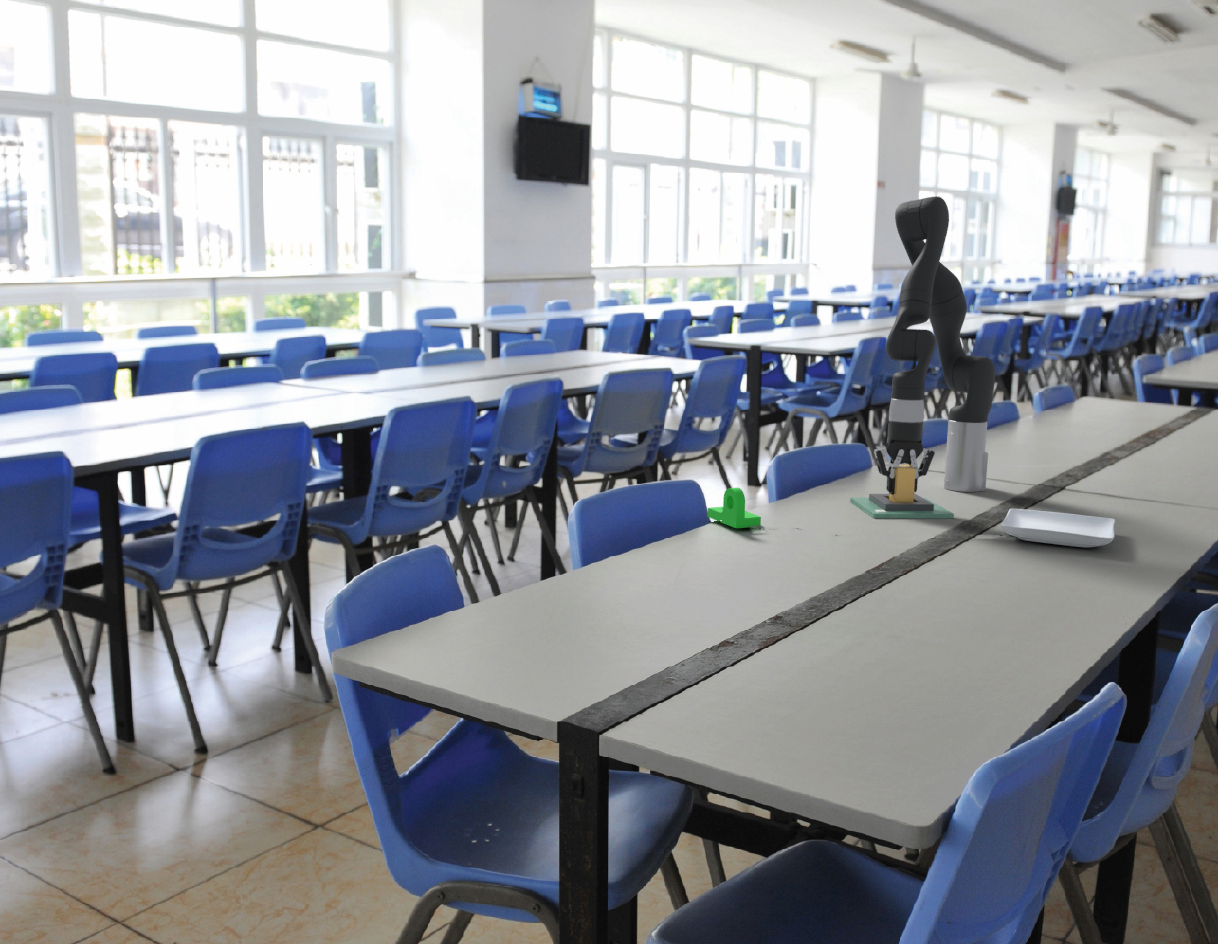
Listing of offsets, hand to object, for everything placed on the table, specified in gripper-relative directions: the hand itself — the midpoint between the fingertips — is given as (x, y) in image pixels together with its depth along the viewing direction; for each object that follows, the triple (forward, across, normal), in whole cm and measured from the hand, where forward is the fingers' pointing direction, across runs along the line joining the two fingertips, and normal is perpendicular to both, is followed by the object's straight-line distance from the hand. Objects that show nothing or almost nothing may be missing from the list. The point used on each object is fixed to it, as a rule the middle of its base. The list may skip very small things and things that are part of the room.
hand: (901, 493), depth 255 cm
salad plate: (+4, -25, +25) cm, 36 cm away
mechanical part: (+4, +40, +12) cm, 42 cm away
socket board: (+4, 0, 0) cm, 4 cm away
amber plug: (+2, 0, 0) cm, 2 cm away
